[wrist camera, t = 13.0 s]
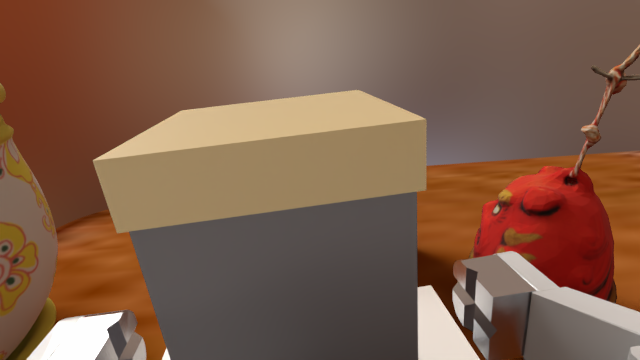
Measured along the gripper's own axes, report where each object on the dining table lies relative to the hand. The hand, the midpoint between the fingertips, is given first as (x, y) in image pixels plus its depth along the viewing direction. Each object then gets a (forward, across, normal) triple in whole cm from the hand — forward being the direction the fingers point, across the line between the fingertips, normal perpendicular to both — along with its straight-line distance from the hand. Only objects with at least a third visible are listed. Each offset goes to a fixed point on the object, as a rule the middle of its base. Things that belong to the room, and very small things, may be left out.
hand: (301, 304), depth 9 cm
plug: (-1, 0, +9) cm, 9 cm away
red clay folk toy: (+8, -13, +10) cm, 18 cm away
